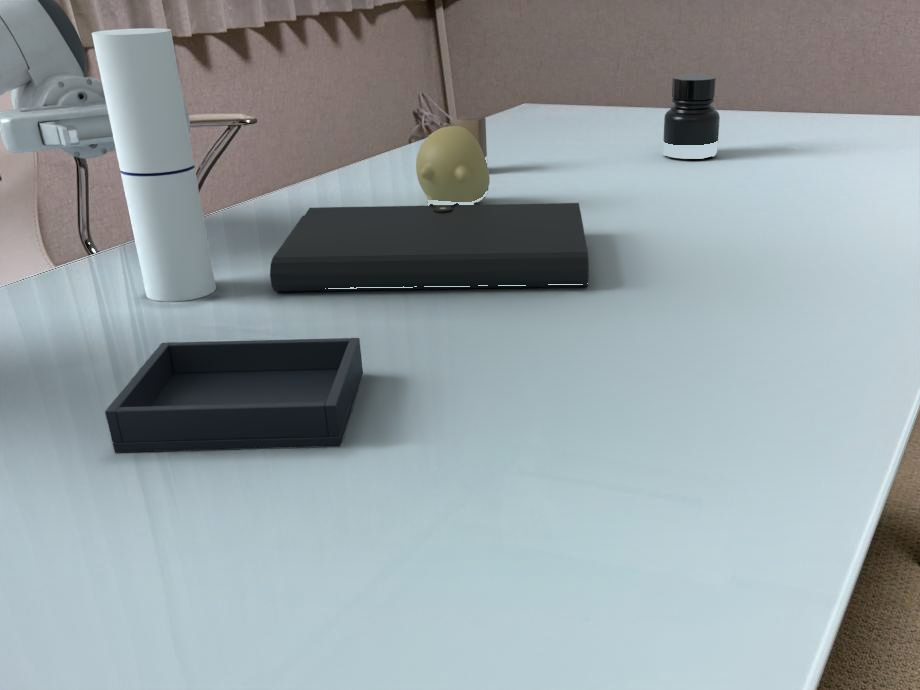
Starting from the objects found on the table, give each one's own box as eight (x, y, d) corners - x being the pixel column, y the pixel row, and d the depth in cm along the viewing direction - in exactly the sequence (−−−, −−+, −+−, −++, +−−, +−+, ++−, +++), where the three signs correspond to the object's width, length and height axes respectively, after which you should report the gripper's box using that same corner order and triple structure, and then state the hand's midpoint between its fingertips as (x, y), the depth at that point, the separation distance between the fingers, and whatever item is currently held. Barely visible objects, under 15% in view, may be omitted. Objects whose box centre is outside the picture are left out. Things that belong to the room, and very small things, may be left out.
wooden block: (488, 169, 166) (486, 115, 162) (481, 174, 163) (478, 119, 159) (463, 168, 167) (461, 115, 163) (456, 174, 163) (453, 119, 159)
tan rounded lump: (491, 235, 144) (505, 170, 147) (475, 180, 133) (490, 111, 136) (423, 230, 146) (438, 166, 149) (401, 175, 135) (418, 107, 138)
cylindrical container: (150, 305, 108) (94, 36, 95) (142, 286, 113) (89, 30, 101) (221, 295, 110) (175, 32, 97) (210, 278, 116) (166, 27, 103)
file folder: (578, 199, 128) (588, 255, 108) (578, 233, 130) (588, 294, 110) (309, 204, 128) (267, 260, 108) (313, 237, 130) (273, 299, 110)
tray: (114, 452, 77) (104, 411, 75) (168, 379, 90) (161, 342, 88) (340, 446, 77) (335, 405, 76) (363, 374, 90) (359, 337, 88)
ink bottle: (729, 156, 173) (735, 77, 167) (697, 164, 167) (702, 82, 161) (682, 149, 179) (686, 72, 173) (649, 156, 173) (652, 78, 167)
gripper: (-26, 96, 115) (5, 110, 105) (158, 79, 125) (201, 90, 116) (-9, 156, 118) (22, 175, 108) (168, 135, 129) (211, 150, 119)
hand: (116, 131), depth 112 cm, fingers open, 8 cm apart
